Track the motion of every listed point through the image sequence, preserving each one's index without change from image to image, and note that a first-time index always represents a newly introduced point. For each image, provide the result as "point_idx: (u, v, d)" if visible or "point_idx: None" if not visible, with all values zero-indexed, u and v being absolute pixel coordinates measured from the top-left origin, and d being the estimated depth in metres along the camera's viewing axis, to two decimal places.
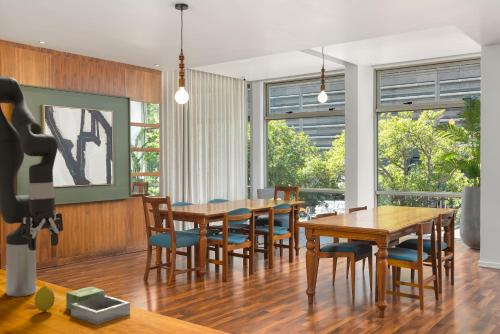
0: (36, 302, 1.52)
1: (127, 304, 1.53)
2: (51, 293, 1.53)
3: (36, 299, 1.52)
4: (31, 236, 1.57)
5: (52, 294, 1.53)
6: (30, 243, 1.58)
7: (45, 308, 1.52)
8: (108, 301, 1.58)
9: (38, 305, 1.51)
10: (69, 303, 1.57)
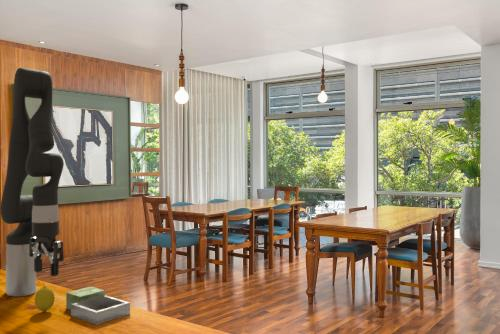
0: (36, 302, 1.52)
1: (127, 304, 1.53)
2: (51, 293, 1.53)
3: (36, 299, 1.52)
4: None
5: (52, 294, 1.53)
6: (57, 268, 1.51)
7: (45, 308, 1.52)
8: (108, 301, 1.58)
9: (38, 305, 1.51)
10: (69, 303, 1.57)
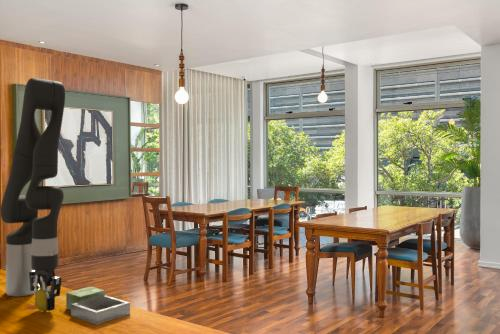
0: (36, 302, 1.52)
1: (127, 304, 1.53)
2: None
3: (36, 299, 1.52)
4: None
5: None
6: (53, 302, 1.52)
7: (45, 308, 1.52)
8: (108, 301, 1.58)
9: (38, 305, 1.51)
10: (69, 303, 1.57)
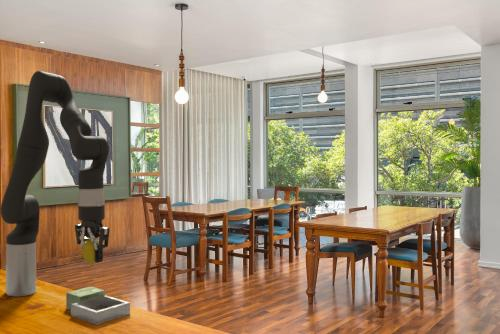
0: (84, 254, 1.49)
1: (127, 304, 1.53)
2: None
3: (84, 251, 1.49)
4: None
5: None
6: (101, 254, 1.49)
7: (93, 260, 1.49)
8: (108, 301, 1.58)
9: (86, 257, 1.49)
10: (69, 303, 1.57)
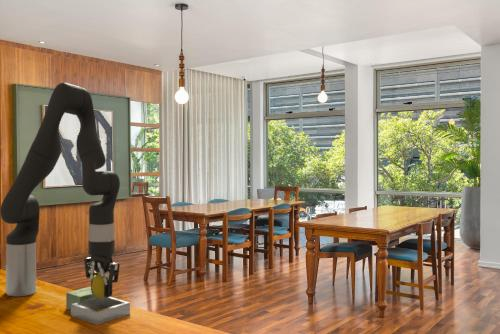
0: (93, 289, 1.50)
1: (127, 304, 1.53)
2: (108, 279, 1.51)
3: (93, 286, 1.50)
4: None
5: None
6: (111, 289, 1.50)
7: (102, 295, 1.50)
8: (108, 301, 1.58)
9: (96, 292, 1.50)
10: (69, 303, 1.57)
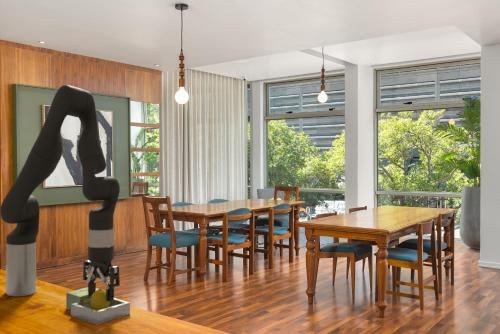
0: (92, 305, 1.50)
1: (127, 304, 1.53)
2: None
3: (92, 302, 1.50)
4: None
5: None
6: (113, 293, 1.49)
7: None
8: None
9: (94, 308, 1.50)
10: (69, 303, 1.57)
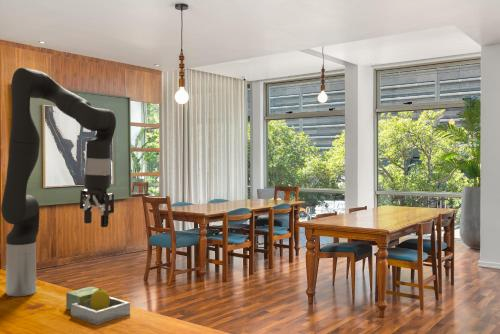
0: (92, 305, 1.50)
1: (127, 304, 1.53)
2: (107, 295, 1.51)
3: (92, 302, 1.50)
4: None
5: (108, 296, 1.52)
6: (107, 219, 1.56)
7: None
8: None
9: (94, 308, 1.50)
10: (69, 303, 1.57)
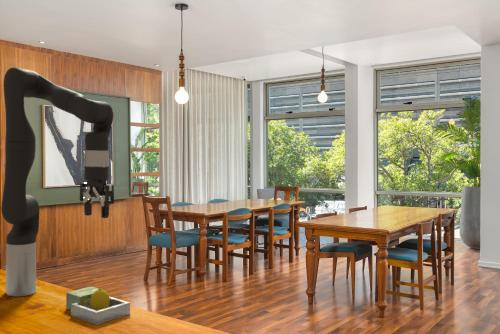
0: (92, 305, 1.50)
1: (127, 304, 1.53)
2: (107, 295, 1.51)
3: (92, 302, 1.50)
4: None
5: (108, 296, 1.52)
6: (107, 210, 1.58)
7: None
8: None
9: (94, 308, 1.50)
10: (69, 303, 1.57)
